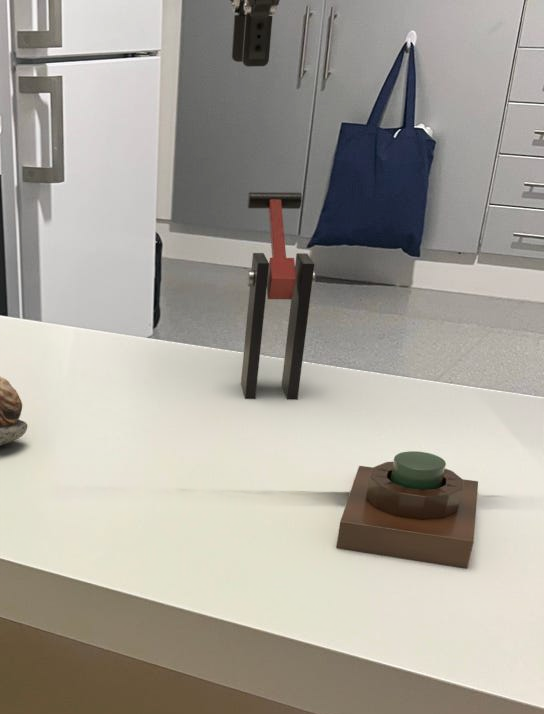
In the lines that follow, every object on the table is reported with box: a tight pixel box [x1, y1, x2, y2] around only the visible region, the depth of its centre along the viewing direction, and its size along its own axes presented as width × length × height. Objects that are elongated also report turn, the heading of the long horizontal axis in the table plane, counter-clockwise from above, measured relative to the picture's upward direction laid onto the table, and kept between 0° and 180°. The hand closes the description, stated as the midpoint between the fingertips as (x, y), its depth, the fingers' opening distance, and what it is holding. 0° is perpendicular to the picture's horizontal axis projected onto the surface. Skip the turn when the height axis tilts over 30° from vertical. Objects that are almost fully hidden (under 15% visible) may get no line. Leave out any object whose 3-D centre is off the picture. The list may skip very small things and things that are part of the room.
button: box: [390, 450, 447, 490], centre depth 74 cm, size 4×4×2 cm
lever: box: [247, 191, 303, 300], centre depth 95 cm, size 13×5×2 cm, turn 176°
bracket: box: [240, 252, 316, 401], centre depth 96 cm, size 10×8×14 cm
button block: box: [335, 461, 479, 570], centre depth 75 cm, size 11×9×4 cm
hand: (249, 63), depth 91 cm, fingers open, 8 cm apart
